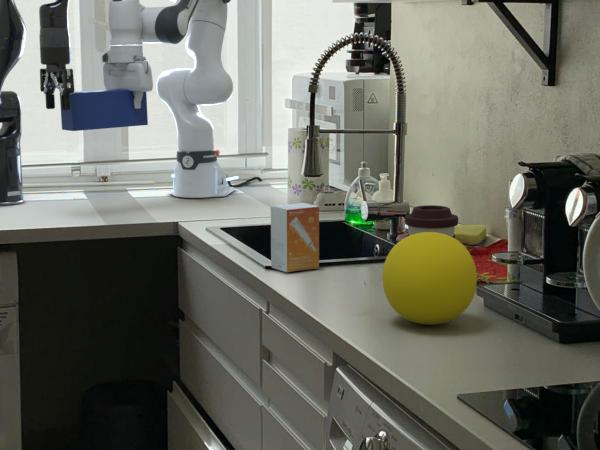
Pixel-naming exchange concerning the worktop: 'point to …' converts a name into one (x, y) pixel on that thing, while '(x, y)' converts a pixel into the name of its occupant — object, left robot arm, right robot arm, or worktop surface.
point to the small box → (295, 237)
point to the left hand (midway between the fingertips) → (58, 109)
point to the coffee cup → (431, 220)
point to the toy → (429, 278)
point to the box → (103, 110)
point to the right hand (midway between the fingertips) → (129, 107)
